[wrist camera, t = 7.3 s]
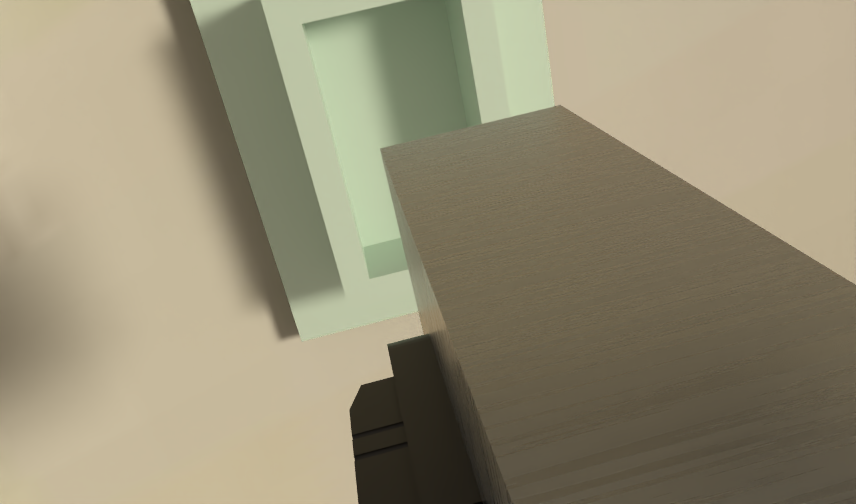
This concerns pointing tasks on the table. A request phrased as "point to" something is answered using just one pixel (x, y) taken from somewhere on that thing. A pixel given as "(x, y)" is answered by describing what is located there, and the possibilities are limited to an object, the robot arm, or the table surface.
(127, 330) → the table surface
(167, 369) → the table surface
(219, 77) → the drive dock
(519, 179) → the block
